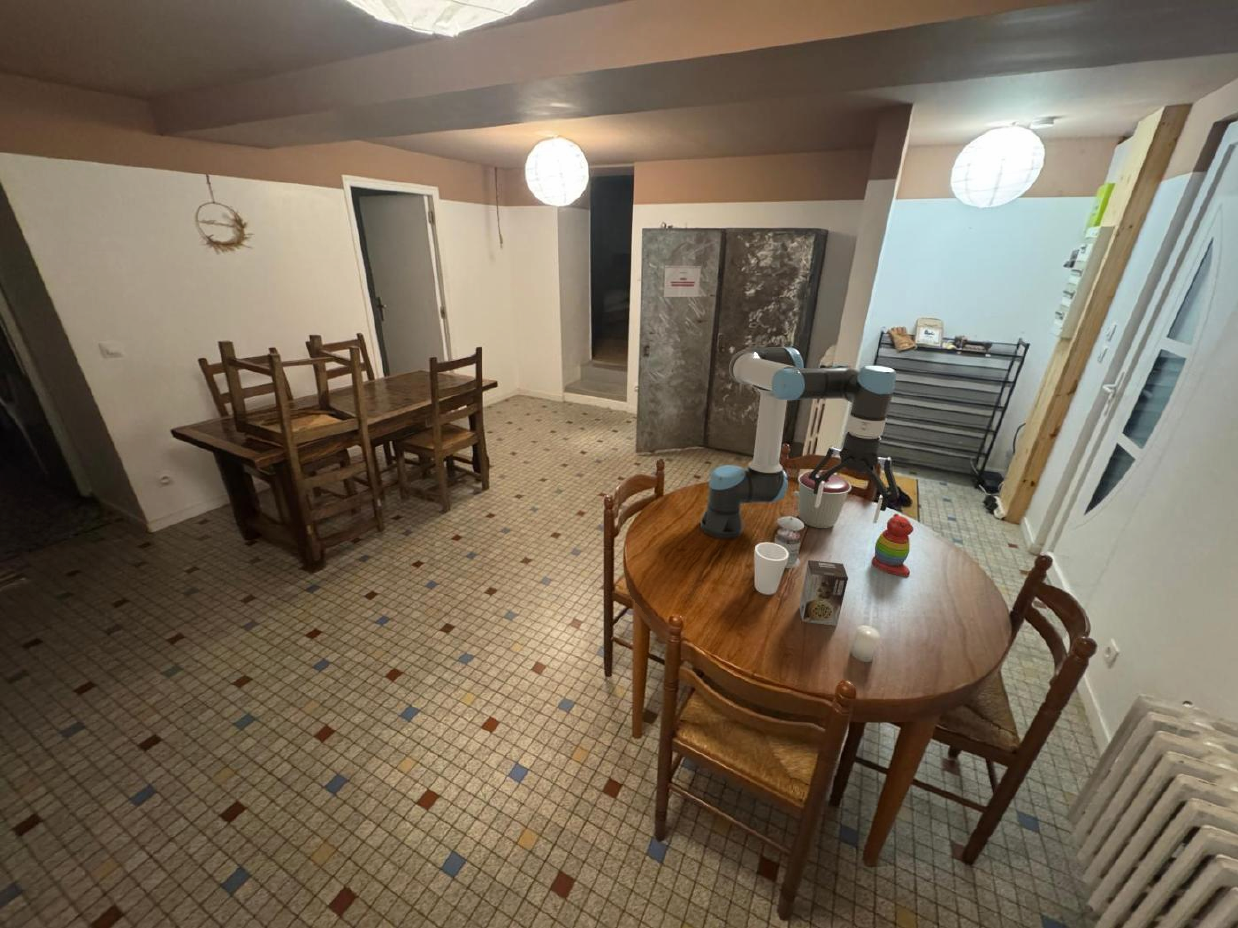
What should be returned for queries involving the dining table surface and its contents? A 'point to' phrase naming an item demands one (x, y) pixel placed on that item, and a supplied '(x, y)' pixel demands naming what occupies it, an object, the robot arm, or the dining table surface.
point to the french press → (790, 536)
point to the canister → (829, 504)
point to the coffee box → (823, 592)
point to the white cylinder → (865, 643)
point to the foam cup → (769, 566)
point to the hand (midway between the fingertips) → (845, 513)
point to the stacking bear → (893, 546)
